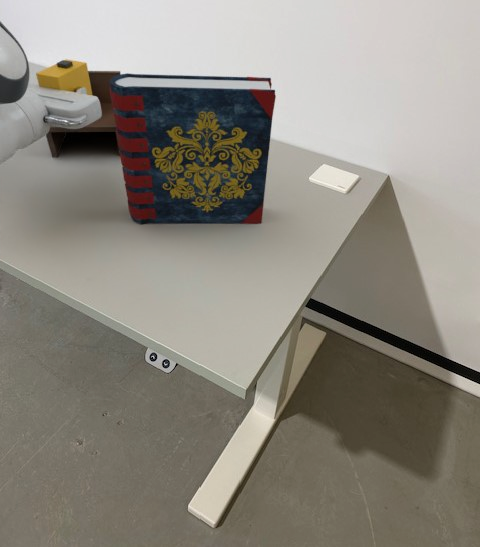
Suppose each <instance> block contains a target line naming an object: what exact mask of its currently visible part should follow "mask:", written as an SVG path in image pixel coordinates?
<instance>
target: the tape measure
mask: <svg viewBox="0 0 480 547" xmlns="http://www.w3.org/2000/svg"><path fill="white" fill-rule="evenodd" d="M88 71H89V70H88V63H87V62H85V61H79V60H73V59H67V58H65V59H63V60H62V59H61V60H60V61H58V62H56V63H54V64H53V65H51V66H48V67H46V68H44V69H42V70H40V71H38V72H36V73H35V76H36V80H37V84H39V86H41V87H46V88H52V89H57V90H66V91H71V92H74V88H77V87H84V88H86V92H87V95H92V90H91V85H90V79H89V74H88Z"/></svg>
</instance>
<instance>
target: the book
mask: <svg viewBox="0 0 480 547" xmlns="http://www.w3.org/2000/svg"><path fill="white" fill-rule="evenodd" d="M109 89H110V94H111V99H112V104H113V107H114V110H113V113H114V118H115V123H116V127H117V130H116V132H117V137H118V142H119V146H120V156H119V157H120V163H121V166H122V167H121V169H122V176H123V181H124V188H125V194H126V198H127V205H128V212H129V215H130V217H131V220H133V222H135V223H136V224H139V225H147V224H262V222H263V212H264V204H265V193H266V184H267V175H268V173H267V172H268V164H269V154H270V145H271V136H272V125H273V116H274V112H275V110H274V109H275V104H276V97H277V96H276V89H272V79H271V77H257V76H220V75H219V76H215V75H183V74H182V75H181V74H180V75H179V74H177V75H176V74H146V73H145V74H143V73H142V74H141V73H128V72H127V73H121V75H117V76H114V77H112V78H111V79H110V88H109ZM116 132H115V133H116Z"/></svg>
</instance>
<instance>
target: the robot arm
mask: <svg viewBox="0 0 480 547" xmlns="http://www.w3.org/2000/svg"><path fill="white" fill-rule="evenodd" d="M29 82H30V64H29V59H28V57H27V55H26V51H25V50H24V48H23V46H22V45H21V44H20V42H19V41H18V40H17V38H16V37H15V36H14V35H13V33H11V31H10V30H9V29H8V28H7V27H6V26H5V24H3V22H1V21H0V165H2V164H3V163H5V162H7V161H8V160H9V159H11V158H13V156H14V155H15V154H16V152H17V151H19V150H24V149H27V148H29V147H30V146H31V145H33V144H34V143H36V142H37V141H39V140H41V139H42V138H43V137H46V134H47V133H48V132H49V130H50V125H54V126H58V127H63V128H68V129H79V128H83V127H85V126H87V125H89V124H91V123H93V122H95V121H97V120H98V119H100V118H101V116H102V111H101V105H100V101H99V99H98V97H96V96H92V95H87V92H86V88H84V87H77V88H74V92H71V91H66V90H57V89H52V88H46V87H41V86H39V83H37V84H34V83H29Z"/></svg>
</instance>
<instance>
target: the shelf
mask: <svg viewBox="0 0 480 547" xmlns="http://www.w3.org/2000/svg"><path fill="white" fill-rule="evenodd" d="M88 74H89V79H90V85H91V90H92V96H96V97H98V99H99V101H100V105H101V111H102V116H101V118H100V119H98V120H97V121H95V122H93V123H91V124H89V125H87V126H85V127H83V128H79V129H68V128H63V127H58V126H54V125H50V130H49V132H48V133H47V134H46V135H45V137H46V140H47V144H48V148H49V152H50V155H51V158H58V156H59V154H60V151H61V149H62V146H63V143H64V140H65V138H66V135H67V133H113V132H114V133H115V138H116V143H117V144H116V145H117V149H118V156H119V157H120V146H119V142H118V137H117V132H116V130H117V127H116V123H115V118H114V113H113V110H114V107H113V104H112V99H111V94H110V89H109V88H110V79H111V78H112V77H114V76H117V75H121V74H122V73H121V70H88Z"/></svg>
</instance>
